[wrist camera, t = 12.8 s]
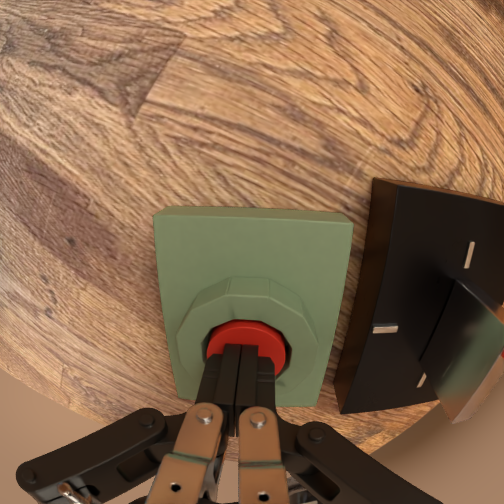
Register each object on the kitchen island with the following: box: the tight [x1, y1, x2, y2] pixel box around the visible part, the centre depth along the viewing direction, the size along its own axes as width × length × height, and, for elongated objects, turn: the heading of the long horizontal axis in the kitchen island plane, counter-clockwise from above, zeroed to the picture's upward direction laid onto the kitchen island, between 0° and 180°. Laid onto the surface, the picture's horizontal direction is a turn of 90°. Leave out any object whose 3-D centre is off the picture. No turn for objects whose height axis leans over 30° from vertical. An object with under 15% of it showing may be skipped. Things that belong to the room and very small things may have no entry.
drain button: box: [207, 319, 285, 376], centre depth 13 cm, size 4×4×2 cm
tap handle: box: [419, 280, 504, 424], centre depth 10 cm, size 6×2×5 cm, turn 174°
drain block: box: [153, 206, 354, 407], centre depth 14 cm, size 12×9×4 cm
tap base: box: [333, 177, 504, 414], centre depth 14 cm, size 14×10×3 cm
